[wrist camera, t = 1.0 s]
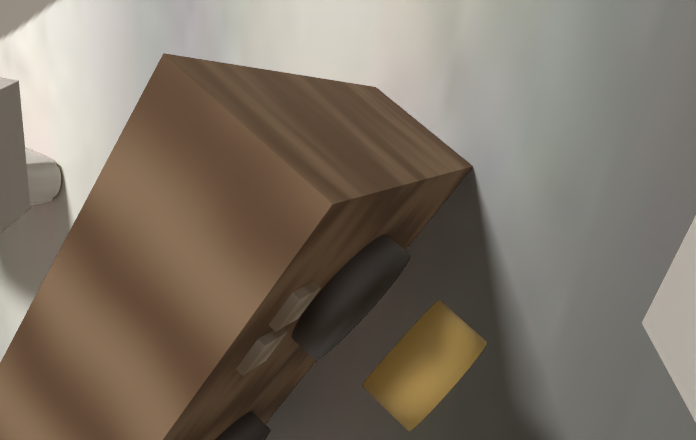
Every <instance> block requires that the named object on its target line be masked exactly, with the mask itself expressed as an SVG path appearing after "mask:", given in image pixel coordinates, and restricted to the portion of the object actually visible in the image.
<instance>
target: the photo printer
mask: <svg viewBox="0 0 696 440" xmlns="http://www.w3.org/2000/svg"><path fill="white" fill-rule="evenodd" d="M25 153H26V164H27V175H28V185H29V196H30V205H36V204H43V203H48V202H51V201H52V200H53V197H55V196H56V195H57V194H58V192H59V190H60V186H61V173H60V169H59V167H58V166H57V165H56V162H55V161H54V160H53V159H51V158H49V157H48V156H46V155H43V154H41V153H38V152H36V151H33V150H30V149H28V148H25Z"/></svg>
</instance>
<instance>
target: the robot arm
mask: <svg viewBox="0 0 696 440" xmlns="http://www.w3.org/2000/svg"><path fill="white" fill-rule="evenodd" d="M30 208H31V206H30V196H29V185H28V175H27V164H26V153H25V143H24V132H23V122H22V111H21V100H20V90H19V81H18V80H12V79H7V78H2V77H0V233H1V232H2V231H4V230H5V229H6V228H7V227H8V226H10V225H11V224H12V223H13V222H14V221H16V220H17V219H18V218H19V217H20V216H22V215H23V214H24V213H25V212H26V211H27V210H29V209H30ZM642 324H643V326H644V328H645V330H646V332H647V334H648V335H649V337H650V339H651V341H652V343H653V345H654V346H655V348H656V350H657V352H658V354H659V356H660V357H661V359H662V361H663V363H664V365H665V367H666V368H667V370H668V372H669V374H670V376H671V378H672V380H673V381H674V383H675V385H676V387H677V389H678V391H679V392H680V394H681V396H682V398H683V400H684V402H685V403H686V405H687V407H688V409H689V411H690V413H691V414H692V416H693V418H694V420H695V422H696V216H695V218H694V220H693V222H692V224H691V226H690V228H689V230H688V232H687V234H686V236H685V238H684V240H683V242H682V244H681V246H680V248H679V250H678V252H677V254H676V256H675V258H674V260H673V262H672V264H671V266H670V268H669V270H668V272H667V274H666V276H665V278H664V280H663V282H662V284H661V286H660V288H659V290H658V292H657V294H656V296H655V298H654V300H653V302H652V304H651V306H650V308H649V310H648V312H647V314H646V316H645V318H644V320H643V322H642Z"/></svg>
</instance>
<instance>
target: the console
mask: <svg viewBox="0 0 696 440" xmlns="http://www.w3.org/2000/svg"><path fill="white" fill-rule="evenodd" d="M472 167H473V166H472V165H471V164H470V163H468V162H467V161H466V160H465V159H463V158H462V157H461V156H460V155H458V154H457V153H456V152H455V151H454V150H452V149H451V148H450V147H449V146H447V145H446V144H445V143H444V142H443V141H441V140H440V139H439V138H438V137H436V136H435V135H434V134H433V133H431V132H430V131H429V130H428V129H427V128H425V127H424V126H423V125H422V124H420V123H419V122H418V121H417V120H415V119H414V118H413V117H412V116H411V115H409V114H408V113H407V112H406V111H404V110H403V109H402V108H401V107H400V106H398V105H397V104H396V103H395V102H393V101H392V100H391V99H390V98H388V97H387V96H386V95H385V94H384V93H382V92H381V91H380V90H379V89H377V88H376V87H371V86H365V85H359V84H353V83H346V82H340V81H334V80H327V79H321V78H315V77H308V76H302V75H296V74H290V73H283V72H277V71H271V70H264V69H258V68H252V67H246V66H239V65H233V64H227V63H220V62H214V61H208V60H202V59H195V58H189V57H183V56H176V55H170V54H163V55H162V57H161V59H160V61H159V63H158V65H157V67H156V69H155V71H154V72H153V74H152V76H151V78H150V80H149V82H148V84H147V86H146V88H145V90H144V91H143V93H142V95H141V97H140V99H139V101H138V103H137V105H136V107H135V109H134V110H133V112H132V114H131V116H130V118H129V120H128V122H127V124H126V126H125V127H124V129H123V131H122V133H121V135H120V137H119V139H118V141H117V143H116V145H115V146H114V148H113V150H112V152H111V154H110V156H109V158H108V160H107V162H106V163H105V165H104V167H103V169H102V171H101V173H100V175H99V177H98V179H97V181H96V182H95V184H94V186H93V188H92V190H91V192H90V194H89V196H88V198H87V200H86V201H85V203H84V205H83V207H82V209H81V211H80V213H79V215H78V217H77V218H76V220H75V222H74V224H73V226H72V228H71V230H70V232H69V234H68V236H67V237H66V239H65V241H64V243H63V245H62V247H61V249H60V251H59V253H58V255H57V256H56V258H55V260H54V262H53V264H52V266H51V268H50V270H49V272H48V273H47V275H46V277H45V279H44V281H43V283H42V285H41V287H40V289H39V291H38V292H37V294H36V296H35V298H34V300H33V302H32V304H31V306H30V308H29V310H28V311H27V313H26V315H25V317H24V319H23V321H22V323H21V325H20V327H19V328H18V330H17V332H16V334H15V336H14V338H13V340H12V342H11V344H10V346H9V347H8V349H7V351H6V353H5V355H4V357H3V359H2V361H1V363H0V440H265V439H266V437H267V436H268V434H269V433H270V429H269V428H268V427H267V426H266V425H265V423H266V422H267V421H268V420H269V418H270V417H271V416H272V415H273V413H274V412H275V411H276V410H277V408H278V407H279V406H280V405H281V403H282V402H283V401H284V400H285V398H286V397H287V396H288V395H289V393H290V392H291V391H292V390H293V389H294V387H295V386H296V385H297V384H298V382H299V381H300V380H301V379H302V377H303V376H304V375H305V374H306V372H307V371H308V370H309V369H310V367H311V366H312V365H313V364H314V363H315V361H316V360H318V359H319V358H321V357H322V356H324V355H325V354H326V353H328V352H329V351H330V350H331V349H332V348H333V347H335V346H336V345H337V344H338V343H339V342H340V341H341V340H342V339H343V338H344V337H345V336H346V335H347V334H348V333H349V332H350V331H351V330H352V329H353V328H354V327H355V326H356V325H357V324H358V323H359V322H360V321H361V320H362V319H363V318H364V317H365V316H366V315H367V313H368V312H369V311H370V310H371V309H372V308H373V307H374V306H375V304H376V303H377V302H378V301H379V300H380V299H381V298H382V296H383V295H384V294H385V293H386V292H387V290H388V289H389V288H390V287H391V285H392V284H393V283H394V282H395V280H396V279H397V278H398V276H399V275H400V274H401V272H402V271H403V269H404V268H405V266H406V265H407V263H408V261H409V259H410V254H409V253H408V252H407V251H405V250H406V249H407V247H408V246H409V245H410V244H411V242H412V241H413V240H414V239H415V237H416V236H417V235H418V234H419V232H420V231H421V230H422V229H423V227H424V226H425V225H426V224H427V222H428V221H429V220H430V219H431V218H432V216H433V215H434V214H435V213H436V211H437V210H438V209H439V208H440V206H441V205H442V204H443V203H444V201H445V200H446V199H447V198H448V196H449V195H450V194H451V193H452V192H453V190H454V189H455V188H456V187H457V185H458V184H459V183H460V182H461V180H462V179H463V178H464V177H465V175H466V174H467V173H468V172H469V170H470V169H471V168H472Z"/></svg>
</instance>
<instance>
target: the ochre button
mask: <svg viewBox="0 0 696 440" xmlns="http://www.w3.org/2000/svg"><path fill="white" fill-rule="evenodd" d="M486 345H487V342H486V341H485V340H484V339H483V338H482V337H481V336H480V335H479V334H477V333H476V332H475V331H474V330H473V329H472V328H471V327H470V326H468V325H467V324H466V323H465V322H464V321H463V320H462V319H461V318H459V317H458V316H457V315H456V314H455V313H454V312H453V311H452V310H450V309H449V308H448V307H447V306H446V305H445V304H444V303H443V302H441V301H440V300H438V301H437V302H435V303H434V304H433V305H432V306H431V307H430V308H429V310H428V311H427V312H426V313H425V314H424V315H423V316H422V317H421V318H420V319H419V320H418V321H417V322H416V323H415V324H414V325H413V327H412V328H411V329H410V330H409V331H408V332H407V333H406V334H405V335H404V336H403V338H402V339H401V340H400V341H399V342H398V343H397V344H396V345H395V346H394V348H393V349H392V350H391V351H390V352H389V353H388V354H387V356H386V357H385V358H384V359H383V360H382V361H381V362H380V364H379V365H378V366H377V367H376V368H375V369H374V371H373V372H372V373H371V374H370V375H369V377H368V378H367V379H366V380H365V382H364V383H363V384H362V387H363V388H364V389H365V390H367V391H368V392H369V393H370V394H371V395H372V396H373V397H374V398H375V399H376V400H377V401H378V402H379V403H380V404H381V405H382V406H383V407H384V408H385V409H386V410H387V411H388V412H389V413H390V414H391V415H392V416H393V417H394V418H395V419H396V420H397V421H399V422H400V423H401V424H402V425H403V426H404V427H405V428H406V429H407V430H408V431H411V430H412V429H413V428H415V427H416V426H417V425H418V424H419V423H420V422H421V421H422V420H423V419H424V418H425V417H426V416H427V415H428V414H429V413H430V412H431V411H432V410H433V409H434V408H435V407H436V406H437V405H438V403H439V402H440V401H441V400H442V399H443V398H444V397H445V396H446V395H447V394H448V392H449V391H450V390H451V389H452V388H453V387H454V386H455V384H456V383H457V382H458V381H459V380H460V379H461V377H462V376H463V375H464V374H465V373H466V371H467V370H468V369H469V368H470V367H471V365H472V364H473V363H474V362H475V360H476V359H477V358H478V356H479V355H480V354H481V352H482V351H483V350H484V348H485V347H486Z"/></svg>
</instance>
